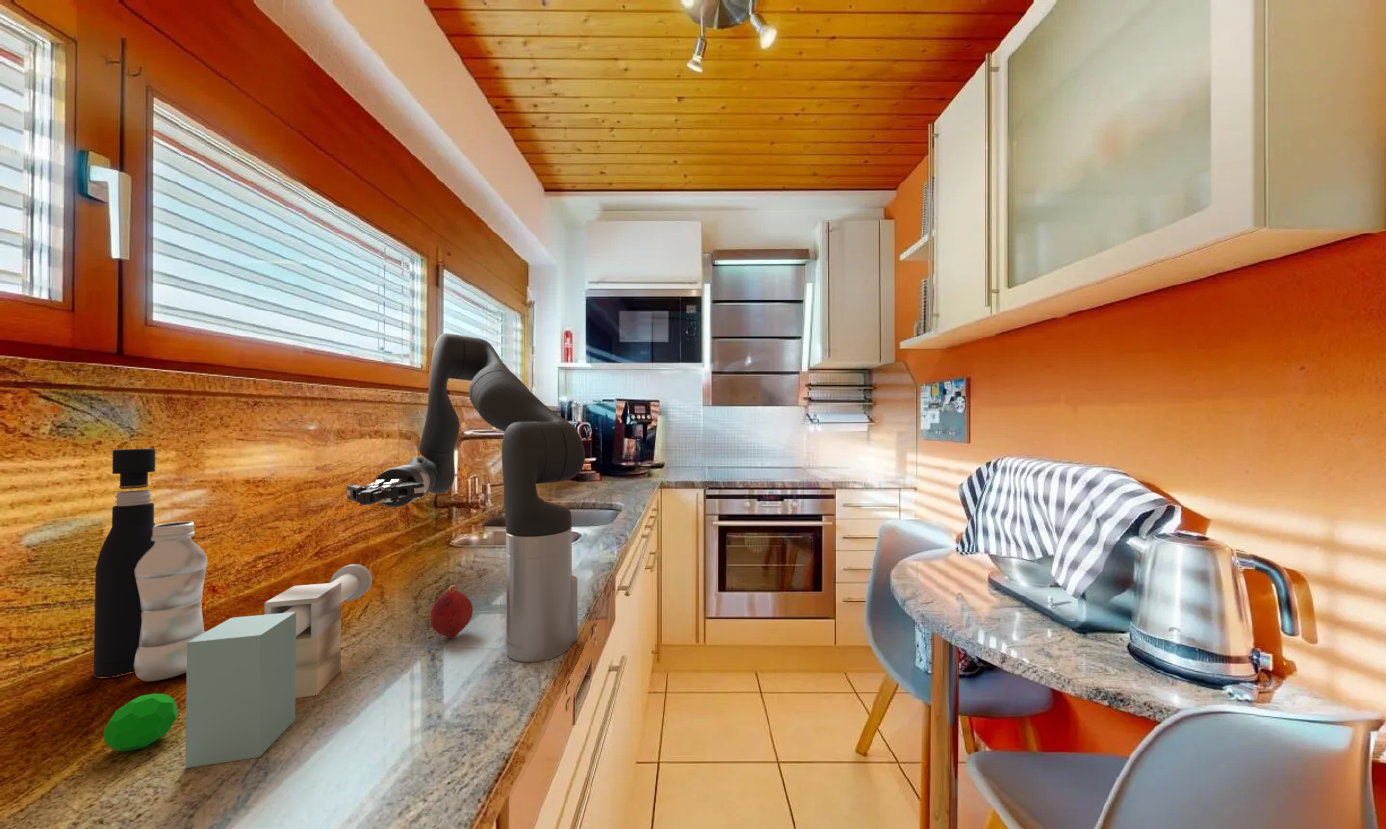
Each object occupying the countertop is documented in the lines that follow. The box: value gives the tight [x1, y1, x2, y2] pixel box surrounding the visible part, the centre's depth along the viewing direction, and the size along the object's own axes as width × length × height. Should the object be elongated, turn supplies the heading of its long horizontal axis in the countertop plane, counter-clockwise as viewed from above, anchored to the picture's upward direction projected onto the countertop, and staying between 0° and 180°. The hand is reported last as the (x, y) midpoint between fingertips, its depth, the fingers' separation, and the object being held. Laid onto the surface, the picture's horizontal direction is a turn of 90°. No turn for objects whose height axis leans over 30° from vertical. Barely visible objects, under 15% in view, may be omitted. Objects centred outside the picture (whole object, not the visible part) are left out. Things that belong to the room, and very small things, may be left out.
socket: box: [184, 612, 296, 769], centre depth 49 cm, size 6×6×12 cm
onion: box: [429, 584, 474, 639], centre depth 72 cm, size 6×6×8 cm
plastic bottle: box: [133, 521, 209, 682], centre depth 62 cm, size 6×7×20 cm
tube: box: [284, 563, 373, 636], centre depth 63 cm, size 18×5×5 cm, turn 14°
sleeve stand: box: [264, 582, 342, 699], centre depth 59 cm, size 6×5×12 cm
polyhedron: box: [103, 693, 179, 752], centre depth 48 cm, size 5×5×5 cm
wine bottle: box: [93, 448, 157, 677], centre depth 65 cm, size 6×6×30 cm
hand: (365, 498), depth 76 cm, fingers closed
